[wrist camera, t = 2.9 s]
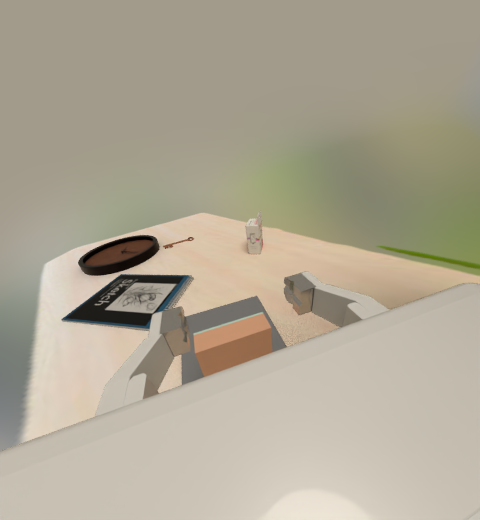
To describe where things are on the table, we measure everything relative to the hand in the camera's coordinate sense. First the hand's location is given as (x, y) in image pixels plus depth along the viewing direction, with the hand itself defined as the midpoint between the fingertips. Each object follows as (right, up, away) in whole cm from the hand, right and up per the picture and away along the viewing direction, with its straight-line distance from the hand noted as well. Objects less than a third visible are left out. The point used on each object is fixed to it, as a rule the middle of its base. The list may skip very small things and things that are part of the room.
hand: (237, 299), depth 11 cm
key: (-30, +10, +78) cm, 84 cm away
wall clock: (-53, +4, +72) cm, 90 cm away
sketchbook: (-32, -10, +44) cm, 55 cm away
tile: (+1, -18, +19) cm, 27 cm away
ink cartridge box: (+7, +6, +63) cm, 63 cm away
